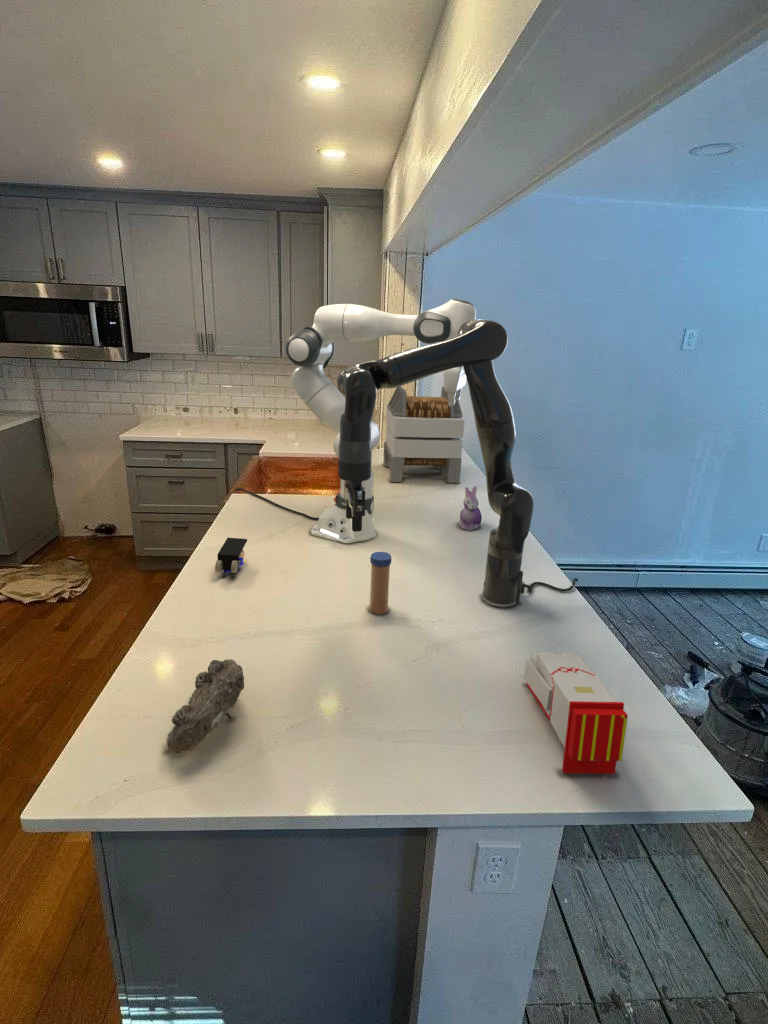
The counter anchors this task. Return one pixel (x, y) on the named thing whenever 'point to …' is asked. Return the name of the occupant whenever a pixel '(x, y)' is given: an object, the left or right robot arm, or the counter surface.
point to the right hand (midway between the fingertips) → (353, 524)
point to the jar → (379, 589)
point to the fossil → (206, 705)
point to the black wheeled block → (230, 556)
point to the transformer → (423, 434)
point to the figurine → (470, 511)
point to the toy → (578, 711)
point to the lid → (380, 559)
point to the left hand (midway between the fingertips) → (454, 403)
